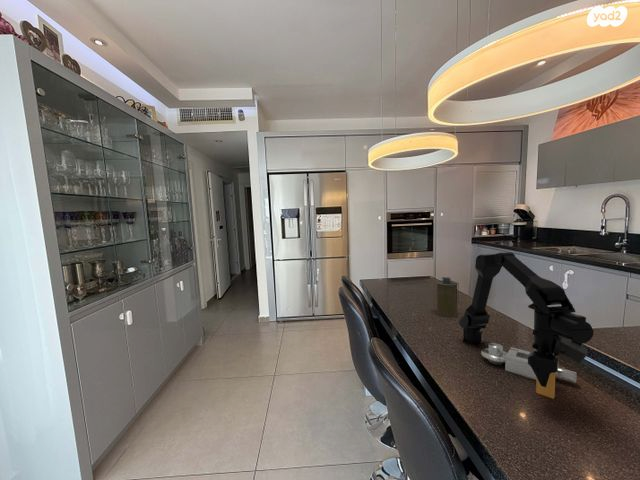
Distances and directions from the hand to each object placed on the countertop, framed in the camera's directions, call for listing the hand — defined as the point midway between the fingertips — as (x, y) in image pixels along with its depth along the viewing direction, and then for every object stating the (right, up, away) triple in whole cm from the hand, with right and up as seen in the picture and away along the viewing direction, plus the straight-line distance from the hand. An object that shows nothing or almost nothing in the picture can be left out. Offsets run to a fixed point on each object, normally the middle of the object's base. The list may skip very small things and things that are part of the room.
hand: (545, 379), depth 79 cm
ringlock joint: (+4, -3, +12) cm, 13 cm away
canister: (+4, 0, +68) cm, 68 cm away
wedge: (0, -5, 0) cm, 5 cm away
